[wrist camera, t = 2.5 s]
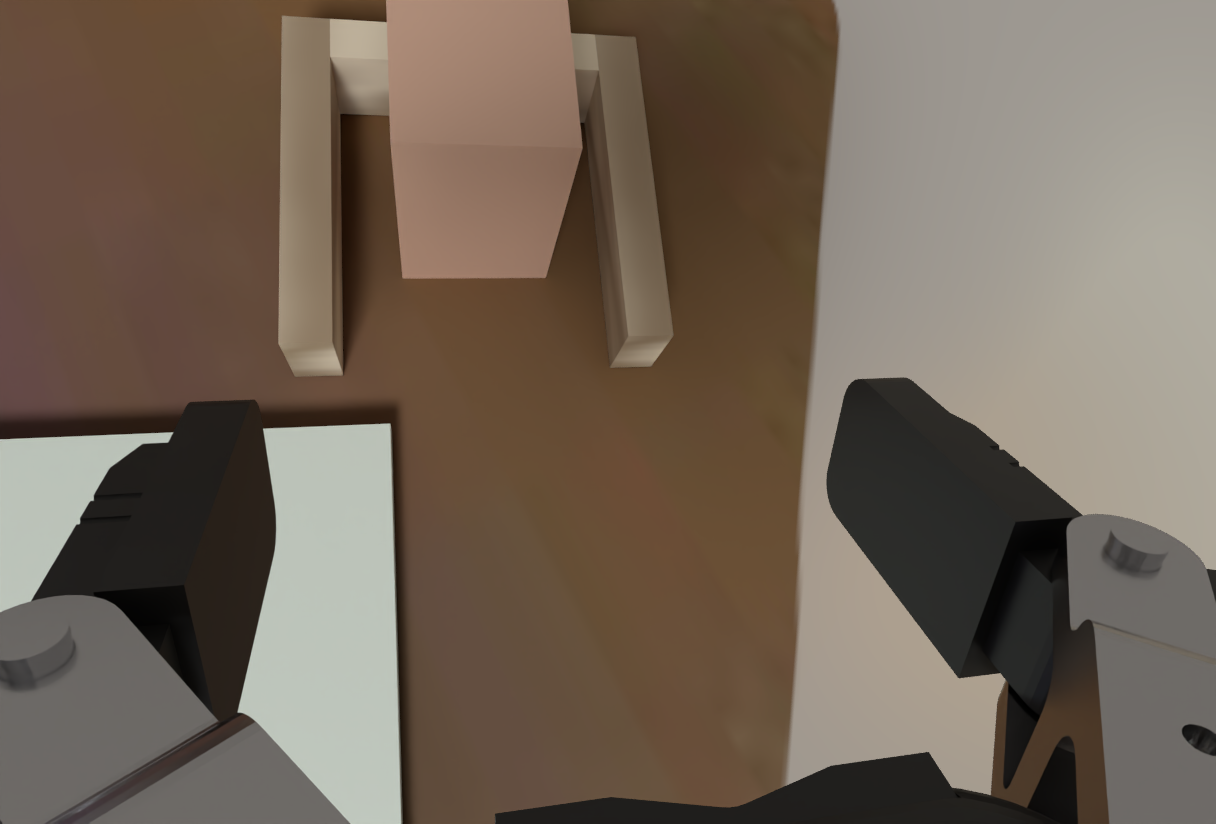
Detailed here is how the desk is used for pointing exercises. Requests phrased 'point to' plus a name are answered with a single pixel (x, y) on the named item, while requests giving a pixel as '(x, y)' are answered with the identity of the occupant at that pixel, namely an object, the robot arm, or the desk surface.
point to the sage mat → (270, 592)
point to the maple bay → (358, 84)
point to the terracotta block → (481, 134)
